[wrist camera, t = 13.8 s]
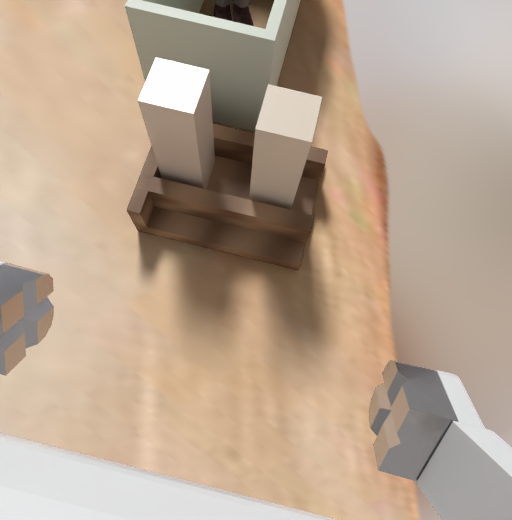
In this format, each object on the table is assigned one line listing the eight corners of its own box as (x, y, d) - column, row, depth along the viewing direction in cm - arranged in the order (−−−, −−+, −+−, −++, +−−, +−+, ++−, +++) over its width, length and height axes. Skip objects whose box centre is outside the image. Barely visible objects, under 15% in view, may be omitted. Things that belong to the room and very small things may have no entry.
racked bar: (164, 187, 39) (137, 100, 28) (176, 153, 41) (155, 57, 29) (204, 196, 39) (193, 113, 28) (215, 162, 40) (209, 69, 29)
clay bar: (248, 207, 39) (255, 128, 28) (257, 172, 40) (268, 84, 29) (288, 217, 39) (312, 142, 28) (296, 182, 40) (322, 96, 29)
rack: (137, 230, 39) (126, 209, 35) (177, 123, 44) (171, 93, 39) (298, 269, 39) (306, 253, 35) (322, 157, 43) (332, 131, 39)
